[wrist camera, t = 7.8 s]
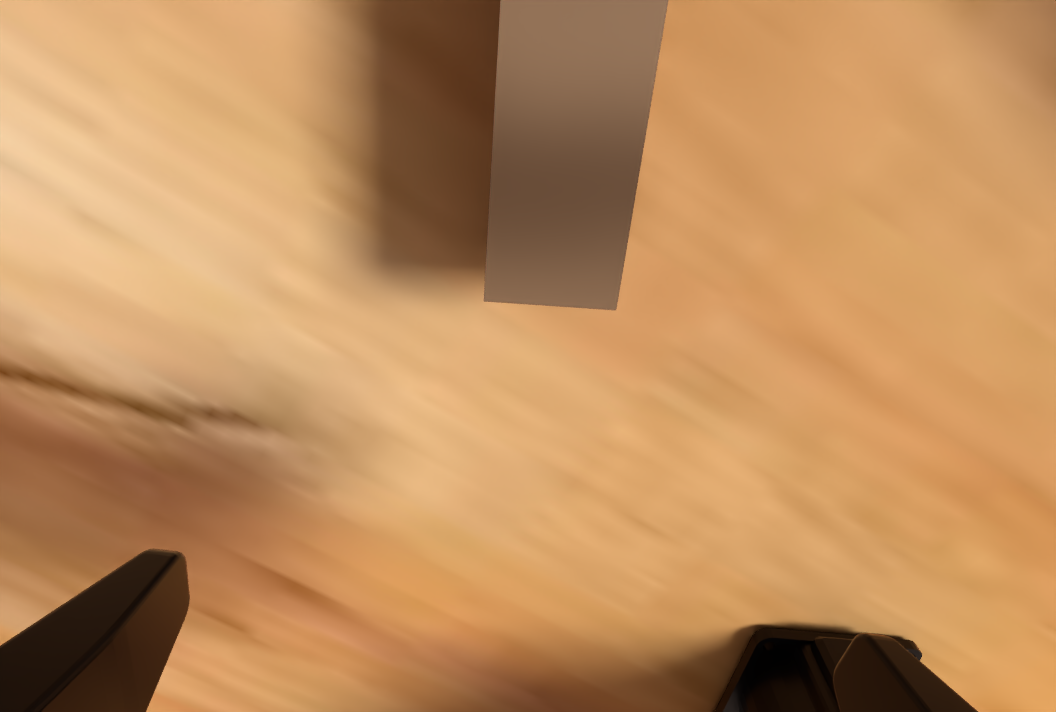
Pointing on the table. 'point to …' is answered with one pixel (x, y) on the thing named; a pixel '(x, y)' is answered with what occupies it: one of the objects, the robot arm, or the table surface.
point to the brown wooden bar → (568, 147)
